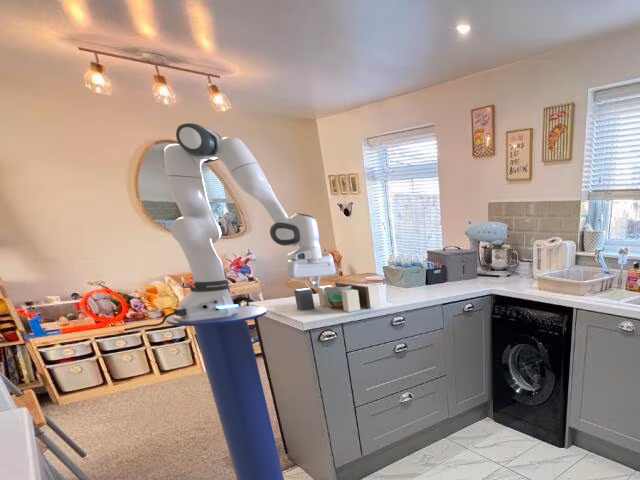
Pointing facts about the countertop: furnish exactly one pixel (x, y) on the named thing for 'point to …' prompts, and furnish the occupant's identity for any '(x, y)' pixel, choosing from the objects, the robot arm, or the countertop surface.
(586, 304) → the countertop surface
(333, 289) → the food container
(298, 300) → the grey block
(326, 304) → the cream block back
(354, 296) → the cream block front
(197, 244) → the robot arm
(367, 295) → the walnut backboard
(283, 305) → the countertop surface
